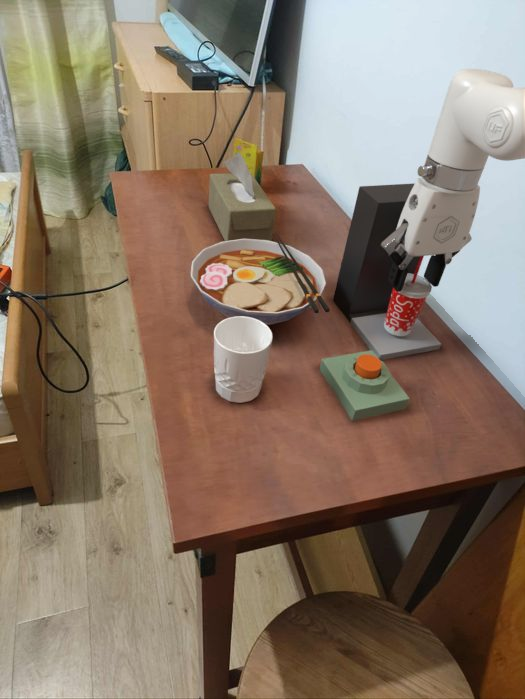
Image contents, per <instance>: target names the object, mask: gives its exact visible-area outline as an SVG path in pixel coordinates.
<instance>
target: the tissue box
mask: <svg viewBox="0 0 525 699" xmlns="http://www.w3.org/2000/svg"><path fill="white" fill-rule="evenodd" d="M222 163H223V164H224V166H225V168H227V170H228V171H229V172H230V173H210V174H209V180H208V181H209V182H208V183H209V184H208V209H209V211H210V213H211V215H212V218H213V219H214V222H215V224H216V226H217V228H218V230H219V232H220V235H221V236H222V239H223V240H224V241H231V240H238V239H256V240H268V241H272V242H273V238H274V235H273V233H274V231H275V230H274V229H275V222H276V216H277V215H276V213H277V209H276V207H275V205H274V204H273V203H272V201H271V200H270V198H269V197H268V195H267V194H266V192H265V191H264V189H263V188H262V186H260V185H259V184H258V182H257V181H256V179H255V178H254V176H253V175H252V174H251V173H250V172H249V170H248V168H247V166H246V163H245V160H244V158H243V157H242V155H241V153H238V154H236V155H235V156H234V157H233V156H231V157H229V158H228V159H227V160H224V161H223V162H222Z"/></svg>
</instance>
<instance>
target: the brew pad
mask: <svg viewBox="0 0 525 699" xmlns="http://www.w3.org/2000/svg"><path fill="white" fill-rule="evenodd" d="M365 354H368V355H372V356H375V357H377V356H376V354H375V353H374V352H373V350H370V349H369V350H364V351H359V352H353V353H348V354H342V355H337V356H330V357H325V358H321V360H320V365H319V368H318V370H319V371H320V373H321V374H322V376H323V377H324V379H325V381H326V382H327V384H328V385H329V387H330V389H331V390H332V392H333V393H334V395H335V396H336V398H337V399H338V401H339V403H340V404H341V406H342V408H343V409H344V411H345V413H346V414H347V416H348V417H349V419H350V420H351V422H354V421H358V420H362V419H366V418H367V419H368V418H371V417H375V416H379V415H384V414H389V413H393V412H397V411H403V410H406V409H407V406H408V404H409V403H410V402H409V401H410V397H409V396H408V394H407V393H406V392H405V391H404V389H403V388H402V386H401V385H400V384H399V383H398V382H397V380H396V379H395V378H394V376H393V375H392V373H391V372H390V369H389V368H388V366H387V365H386V364H385V362H384V361H383V360H380V359H379V358H378V357H377V358H378V359H379V360H380V361H381V364H382V367H381V370H380V373H379V375H378V377H377V378H375V379H365V378H362V377H361V376H359V375H357V373H356V372H355V365H356V362H357V359H358V357H359V356H361V355H365Z"/></svg>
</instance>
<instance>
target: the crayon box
mask: <svg viewBox="0 0 525 699" xmlns="http://www.w3.org/2000/svg"><path fill="white" fill-rule="evenodd" d="M233 140H234V141H233V151H232V158H233V157H234V156H235V155H236V154H238V153H241V155H242V157H243V158H244V160H245V163H246V166H247V168H248V170H249V172H250V173H251V174H252V175H253V176H254V178H255V179H256V181H257V182H258V184H259V185H260V187H262V186H261V185H262V175H263V163H264V155H265V154H264V151H263V150H260V149H258V148H259V147H258V145H257V144H253V143H251V142H249V141H245V140H243V139H240V138H238V137H234V138H233Z"/></svg>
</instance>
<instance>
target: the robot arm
mask: <svg viewBox="0 0 525 699" xmlns="http://www.w3.org/2000/svg"><path fill="white" fill-rule="evenodd" d="M438 116H439V117H438V120H437V123H436V126H435V129H434V133H433V136H432V140H431V142H430V146H429V149H428V152H427V155H426V157H425V158H426V159H425V161H424V165H419V167H418V168H417V176H419V178H416V180H415V182H414V183H415V184H414V183H413V184H414V186H413V188H412V190H411V192H410V194H409V196H408V198H407V201H406V203H405V206H404V208H403V211H402V213H401V216H400V219H399V222H398V225H397V228H396V230H395V231H394V232H393V233H392V234H391V235H390V236H388V237H387V238H386V239H385V240H384V241H383V242H382V243H381V247H382V248H383V249H384V251H385V252H386V253H387V255H388V256H389V258H390V259H391V261H392V262H393V264H392V267H391V271H390V274H389V277H388V283H389V284H390V285H391V286H392V287H393V288H394V289H395V290H396V291H397V292H399V291H401V290H402V288H403V285H404V282H405V280H406V277H407V274H408V269H407V268H406V267H407V265H408V264H409V263H410V261H411V260H412V258H413V257H414V256H424V257H428V256H430V258H429V260H428V263H427V266H426V268H425V271H424V274H423V278H425V279H426V280H427V281H428V282H429V283H430V284H431V286H432V287H434V288H435V287H436V288H437V287H438V286H439V285H440V282H441V281H442V278H443V274H444V272H445V270H446V267H447V265H450V264H451V263H452V261H453V258H454V257H455V256H456V255H457V254H458V253H460V251H461V250H462V249H463V248H464V247H465V246H467V245H468V243H470V242H471V241H472V236H471V234H470V232H471V229H472V225H473V222H474V220H475V216H476V214H477V209H478V204H479V200H480V192H481V187H480V185H479V183H480V179H481V177H482V174H483V172H484V169H485V166H486V164H487V161H488V158H489V157H490V158H493V159H495V160H499V161H506V162H507V161H508V162H509V161H516V160H522V159H525V87H514V83H513V81H512V80H511V78H510V77H508V76H507V75H505V74H502V73H499V72H496V71H492V70H487V69H481V68H480V69H479V68H464V69H460V70H459V71H457V72H456V73H455V74H454V75H453V76H452V78H451V79H450V82H449V85H448V88H447V90H446V95H445V97H444V101H443V103H442V106H441V110H440V114H439V115H438ZM398 243H400V244H399V245H398V247H397V248H396V250H395V246H396V245H397V244H398ZM404 251H406V252H407V253H406V254H405V256H404V257H403V258H401V255H402V254H403V252H404Z"/></svg>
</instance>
